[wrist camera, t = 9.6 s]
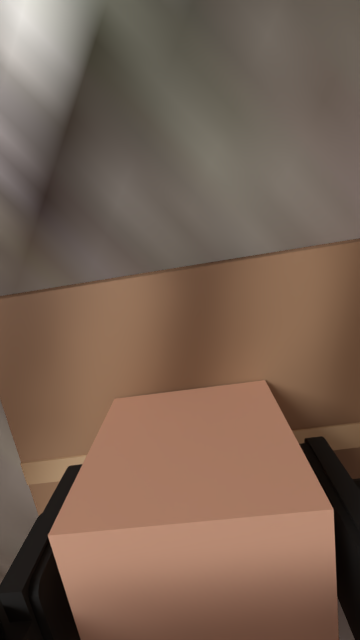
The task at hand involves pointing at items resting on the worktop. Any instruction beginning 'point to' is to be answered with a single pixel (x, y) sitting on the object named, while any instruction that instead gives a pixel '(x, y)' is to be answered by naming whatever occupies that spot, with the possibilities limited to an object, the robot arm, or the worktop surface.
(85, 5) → the worktop surface
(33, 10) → the worktop surface
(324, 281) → the walnut board
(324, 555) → the cube
